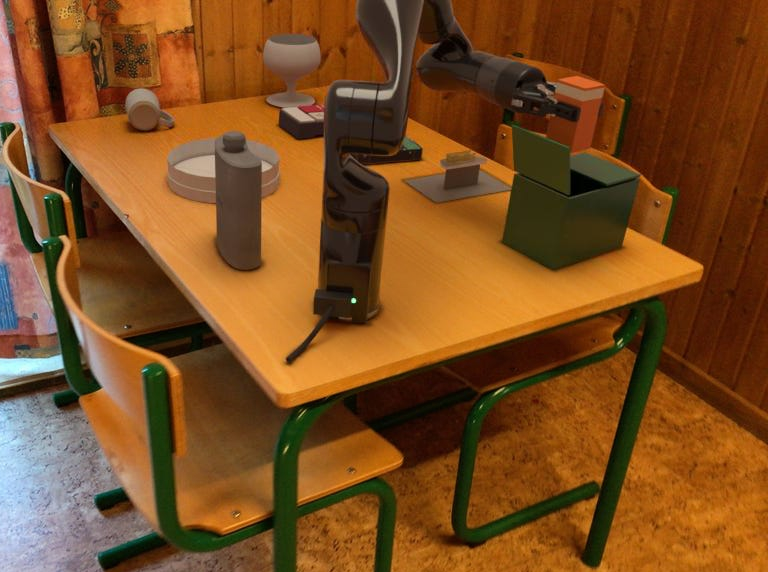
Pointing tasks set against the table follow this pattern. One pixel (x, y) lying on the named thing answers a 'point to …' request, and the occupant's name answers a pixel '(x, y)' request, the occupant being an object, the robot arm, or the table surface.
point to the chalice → (291, 65)
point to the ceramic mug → (146, 110)
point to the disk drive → (406, 153)
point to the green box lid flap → (541, 159)
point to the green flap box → (571, 213)
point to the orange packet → (589, 102)
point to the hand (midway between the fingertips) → (589, 112)
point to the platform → (458, 179)
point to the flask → (238, 201)
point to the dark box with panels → (303, 120)
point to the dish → (213, 169)
